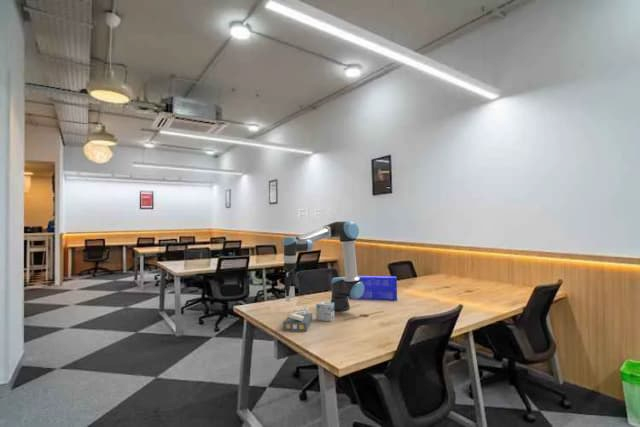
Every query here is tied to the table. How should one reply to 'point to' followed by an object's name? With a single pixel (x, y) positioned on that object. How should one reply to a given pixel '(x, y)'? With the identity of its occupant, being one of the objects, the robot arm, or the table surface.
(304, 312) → the rocker mid
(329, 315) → the light bulb box
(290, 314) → the rocker near
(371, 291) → the toner cartridge box
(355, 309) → the table surface
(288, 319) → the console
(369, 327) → the table surface
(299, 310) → the rocker far
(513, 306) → the table surface
